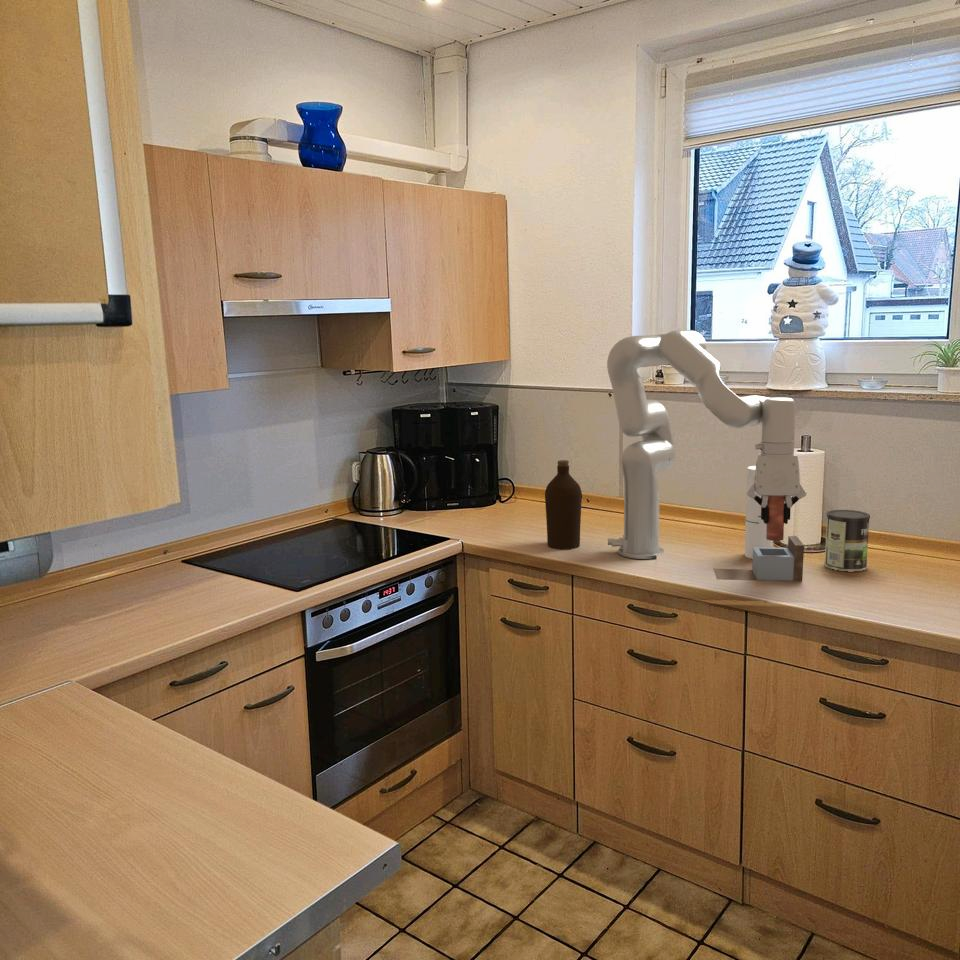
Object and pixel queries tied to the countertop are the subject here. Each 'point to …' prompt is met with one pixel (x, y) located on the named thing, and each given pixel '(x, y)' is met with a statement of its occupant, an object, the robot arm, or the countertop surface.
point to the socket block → (773, 563)
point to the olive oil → (563, 509)
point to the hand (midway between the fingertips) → (775, 521)
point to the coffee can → (847, 540)
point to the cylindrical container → (754, 520)
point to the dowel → (775, 518)
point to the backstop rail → (743, 574)
